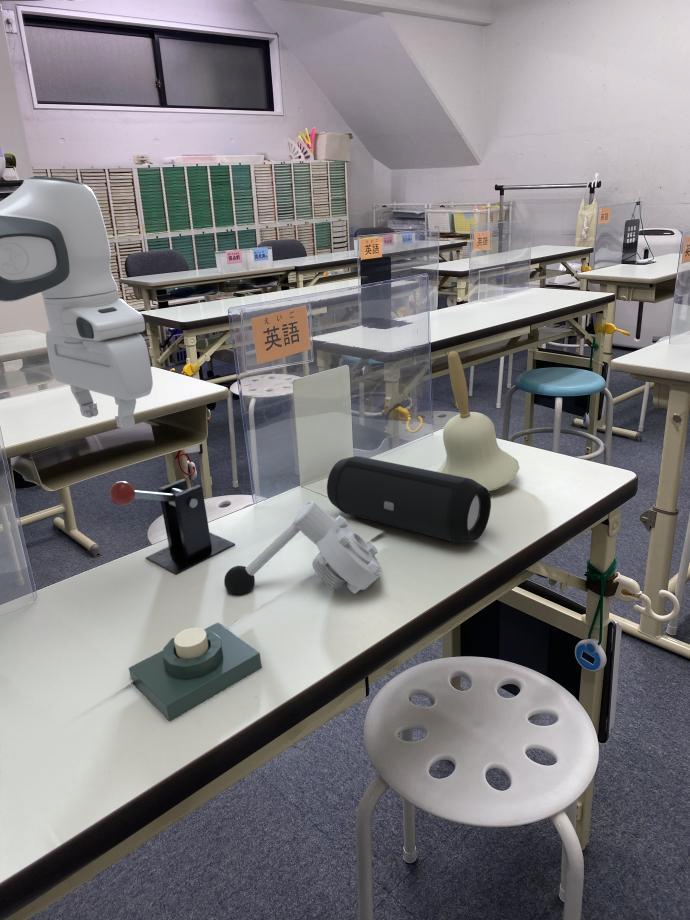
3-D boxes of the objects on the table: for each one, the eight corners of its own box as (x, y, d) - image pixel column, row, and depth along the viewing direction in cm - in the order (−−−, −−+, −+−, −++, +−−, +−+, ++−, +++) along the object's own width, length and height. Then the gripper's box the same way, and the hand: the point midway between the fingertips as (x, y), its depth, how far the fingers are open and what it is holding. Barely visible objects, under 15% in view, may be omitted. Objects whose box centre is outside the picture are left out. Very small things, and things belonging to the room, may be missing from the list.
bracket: (176, 580, 99) (163, 507, 95) (147, 564, 104) (132, 493, 100) (236, 550, 107) (226, 480, 102) (205, 536, 112) (194, 469, 108)
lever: (115, 507, 92) (120, 483, 92) (102, 501, 94) (107, 477, 94) (193, 512, 102) (198, 490, 102) (180, 507, 104) (185, 485, 104)
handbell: (536, 483, 119) (514, 346, 109) (455, 512, 117) (426, 375, 107) (497, 453, 133) (475, 330, 123) (425, 478, 131) (396, 355, 121)
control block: (169, 722, 72) (163, 692, 71) (131, 683, 79) (125, 654, 77) (262, 668, 79) (258, 639, 78) (220, 636, 86) (216, 609, 84)
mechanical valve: (390, 582, 89) (308, 507, 86) (295, 668, 92) (212, 599, 89) (383, 550, 99) (309, 481, 96) (297, 628, 102) (222, 564, 99)
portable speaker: (325, 520, 114) (321, 465, 110) (360, 498, 121) (356, 445, 118) (463, 558, 99) (463, 496, 96) (493, 530, 107) (494, 471, 103)
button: (186, 664, 75) (184, 651, 75) (170, 650, 78) (168, 637, 77) (214, 649, 78) (212, 636, 77) (198, 636, 80) (195, 623, 79)
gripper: (25, 315, 90) (49, 415, 95) (103, 327, 77) (126, 443, 82) (70, 307, 94) (91, 403, 99) (151, 317, 81) (171, 427, 86)
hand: (107, 421), depth 90 cm, fingers open, 8 cm apart
